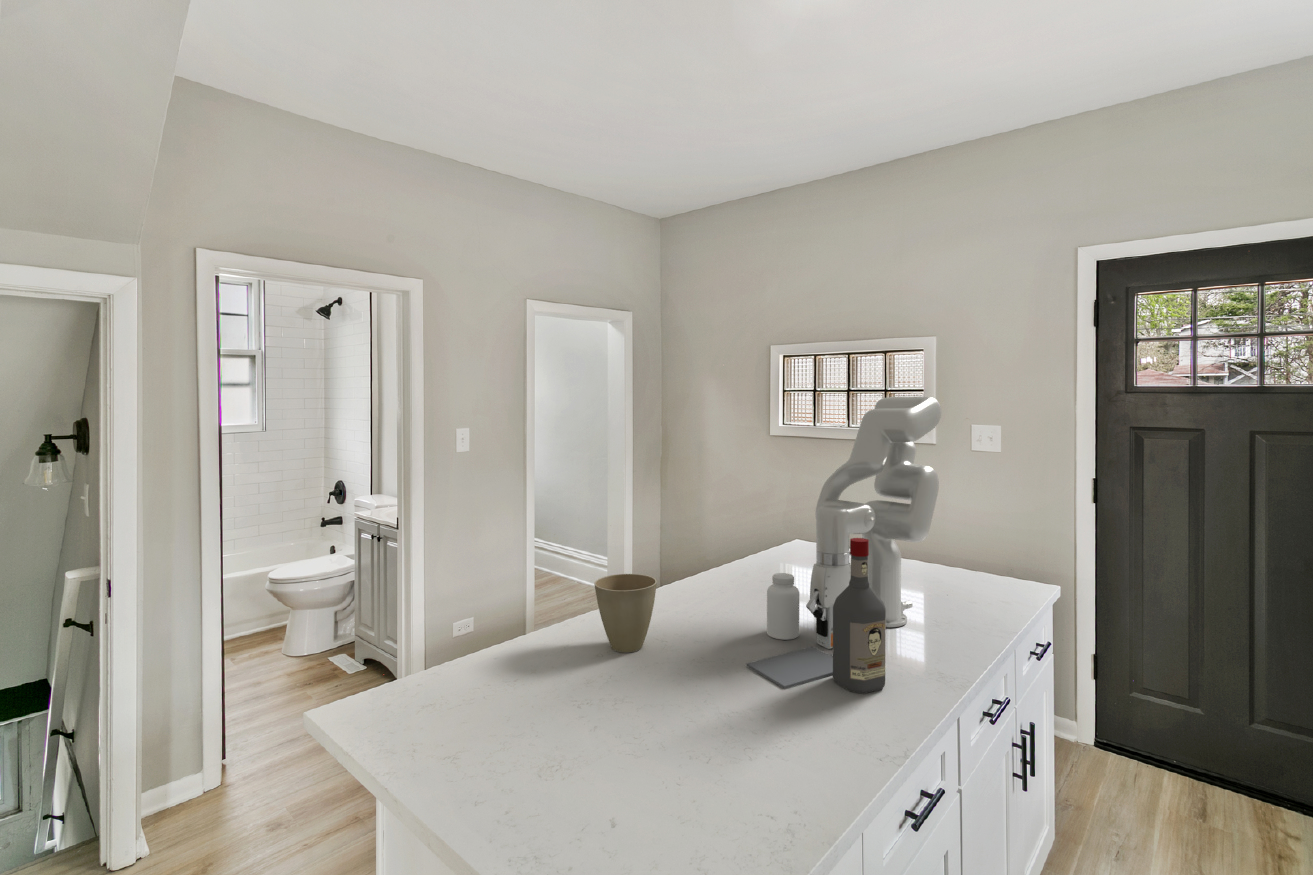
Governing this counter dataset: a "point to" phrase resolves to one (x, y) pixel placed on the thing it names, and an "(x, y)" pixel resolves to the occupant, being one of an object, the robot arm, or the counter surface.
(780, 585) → the pill bottle
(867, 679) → the liquor
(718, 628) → the counter surface
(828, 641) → the skincare box
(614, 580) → the plant pot
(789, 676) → the mat
